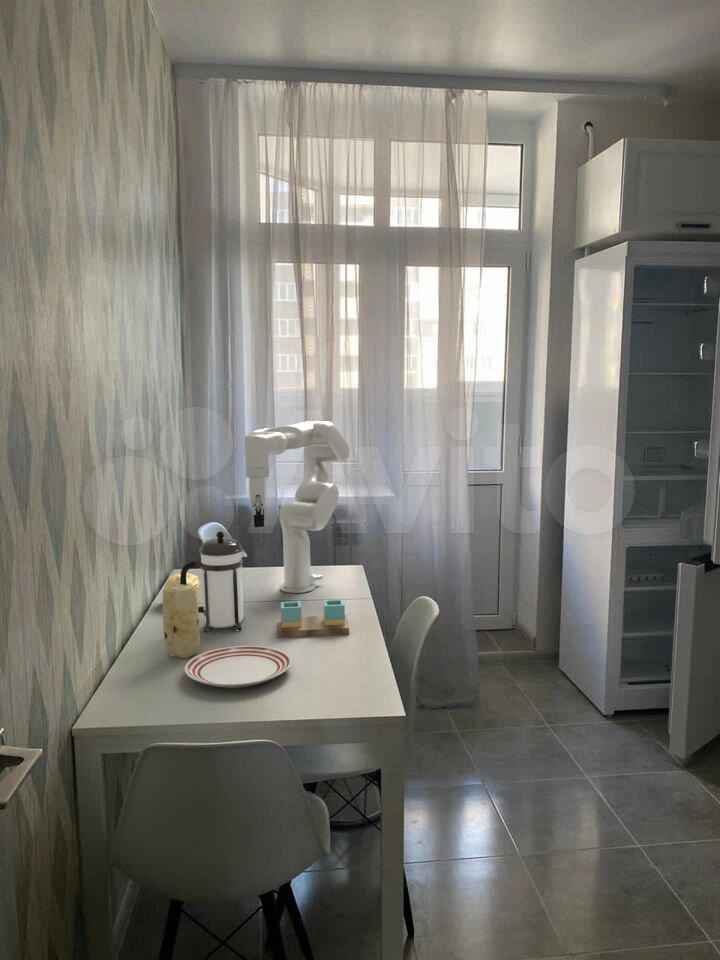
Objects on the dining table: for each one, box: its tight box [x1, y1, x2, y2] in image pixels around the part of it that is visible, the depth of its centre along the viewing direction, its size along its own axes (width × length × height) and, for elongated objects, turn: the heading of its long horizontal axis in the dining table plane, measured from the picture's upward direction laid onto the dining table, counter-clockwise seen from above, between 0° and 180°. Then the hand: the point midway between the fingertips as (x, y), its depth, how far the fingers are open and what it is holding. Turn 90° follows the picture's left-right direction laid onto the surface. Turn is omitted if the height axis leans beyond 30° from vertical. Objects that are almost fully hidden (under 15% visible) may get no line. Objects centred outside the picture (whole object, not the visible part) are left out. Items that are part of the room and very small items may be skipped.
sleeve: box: [323, 598, 346, 625], centre depth 227 cm, size 6×6×6 cm
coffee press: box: [180, 531, 248, 634], centre depth 228 cm, size 17×16×30 cm
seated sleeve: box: [280, 600, 302, 628], centre depth 226 cm, size 6×6×6 cm
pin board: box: [277, 614, 350, 639], centre depth 227 cm, size 21×12×7 cm, turn 96°
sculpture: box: [163, 572, 201, 599], centre depth 254 cm, size 11×12×11 cm
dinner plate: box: [184, 645, 292, 689], centre depth 194 cm, size 27×27×3 cm
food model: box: [162, 584, 201, 659], centre depth 206 cm, size 10×7×20 cm
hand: (259, 523), depth 246 cm, fingers open, 9 cm apart
